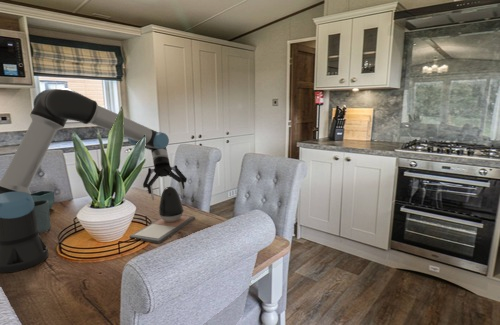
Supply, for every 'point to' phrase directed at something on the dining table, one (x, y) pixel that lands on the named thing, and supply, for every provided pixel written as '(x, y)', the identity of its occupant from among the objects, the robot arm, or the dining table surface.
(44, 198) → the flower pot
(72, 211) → the dining table surface
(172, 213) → the black rounded piece
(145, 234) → the board
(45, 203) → the teal cup
